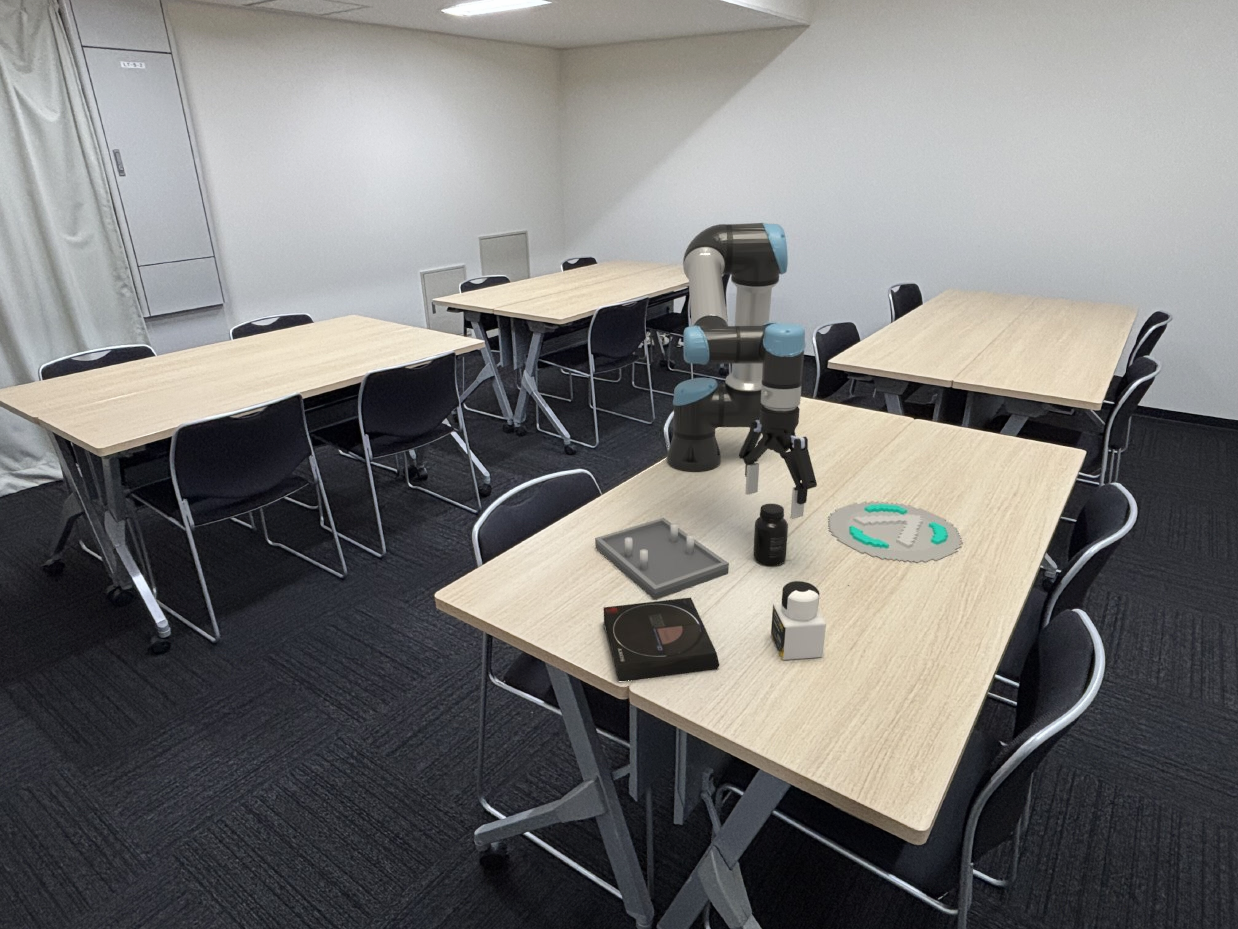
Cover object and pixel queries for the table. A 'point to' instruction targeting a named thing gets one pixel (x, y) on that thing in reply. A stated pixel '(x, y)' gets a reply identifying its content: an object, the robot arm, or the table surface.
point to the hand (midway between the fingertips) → (773, 504)
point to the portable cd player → (658, 639)
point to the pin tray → (661, 557)
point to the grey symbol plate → (894, 532)
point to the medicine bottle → (798, 622)
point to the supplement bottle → (770, 535)
